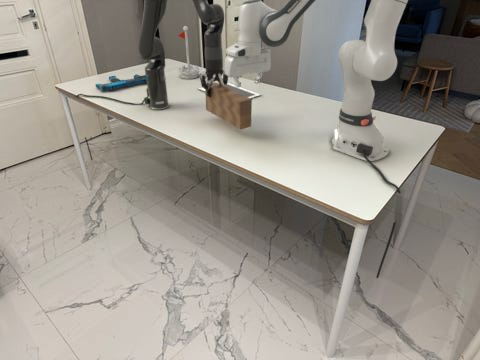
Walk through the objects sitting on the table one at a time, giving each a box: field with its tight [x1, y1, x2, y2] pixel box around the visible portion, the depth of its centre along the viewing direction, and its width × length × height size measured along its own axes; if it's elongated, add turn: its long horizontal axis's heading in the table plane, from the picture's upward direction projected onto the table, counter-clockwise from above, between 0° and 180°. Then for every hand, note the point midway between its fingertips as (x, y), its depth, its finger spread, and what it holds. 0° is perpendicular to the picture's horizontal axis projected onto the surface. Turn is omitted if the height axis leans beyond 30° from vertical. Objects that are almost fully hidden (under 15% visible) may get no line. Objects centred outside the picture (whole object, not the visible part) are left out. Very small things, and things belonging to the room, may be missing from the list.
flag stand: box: [177, 25, 200, 80], centre depth 211 cm, size 13×13×30 cm
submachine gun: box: [94, 74, 147, 92], centre depth 207 cm, size 34×4×25 cm
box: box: [204, 82, 253, 131], centre depth 148 cm, size 27×6×12 cm, turn 36°
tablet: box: [197, 82, 262, 99], centre depth 193 cm, size 32×20×1 cm, turn 41°
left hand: (215, 95), depth 153 cm, fingers closed on box, 5 cm apart
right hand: (247, 85), depth 134 cm, fingers open, 8 cm apart
